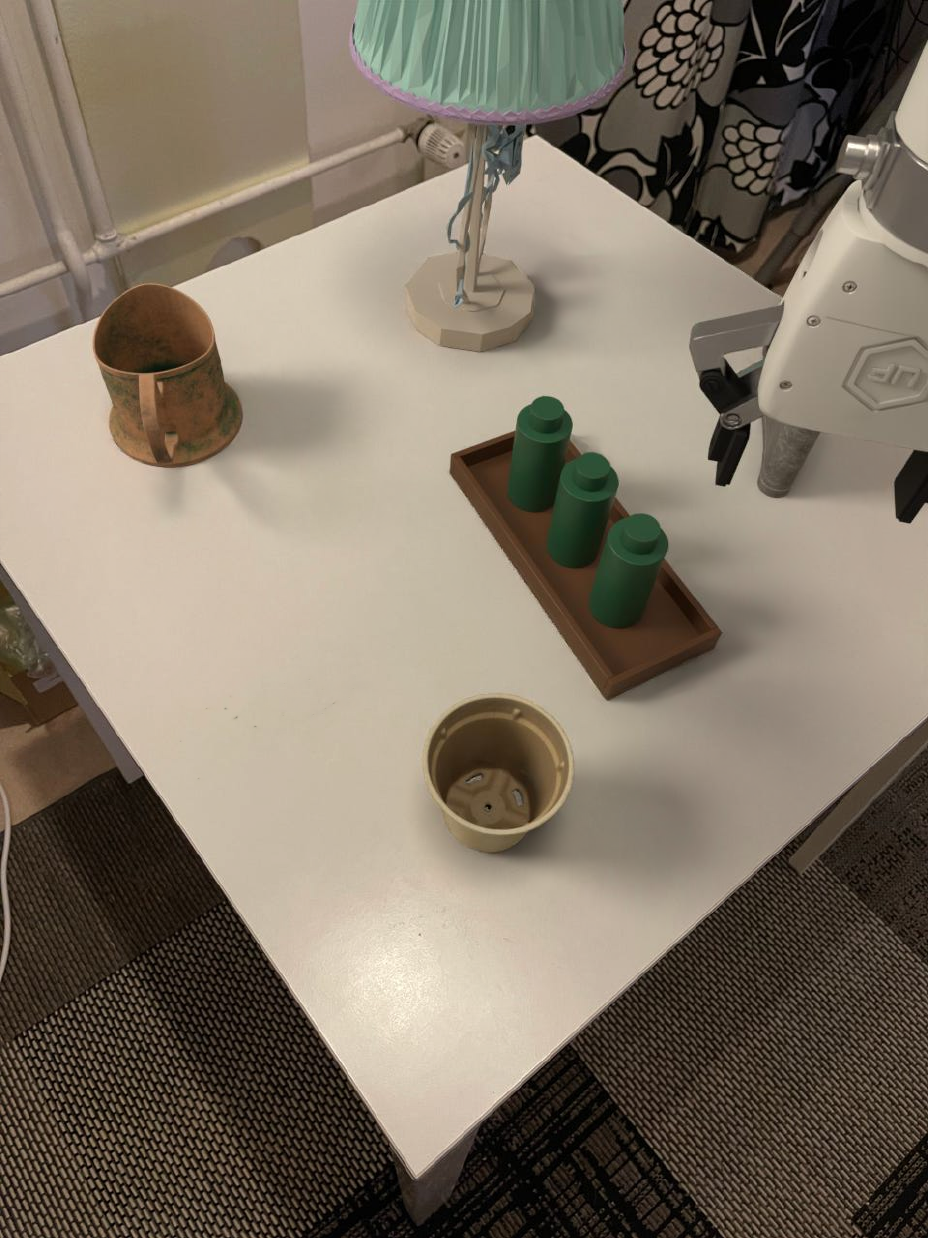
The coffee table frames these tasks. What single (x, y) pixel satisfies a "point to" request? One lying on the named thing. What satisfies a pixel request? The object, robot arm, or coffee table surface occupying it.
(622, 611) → the bottle
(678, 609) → the tray
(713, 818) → the coffee table surface
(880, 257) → the robot arm
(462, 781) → the flower pot
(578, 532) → the bottle mid
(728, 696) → the coffee table surface
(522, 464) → the bottle far
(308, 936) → the coffee table surface
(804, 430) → the flask
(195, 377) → the mug
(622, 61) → the table lamp
